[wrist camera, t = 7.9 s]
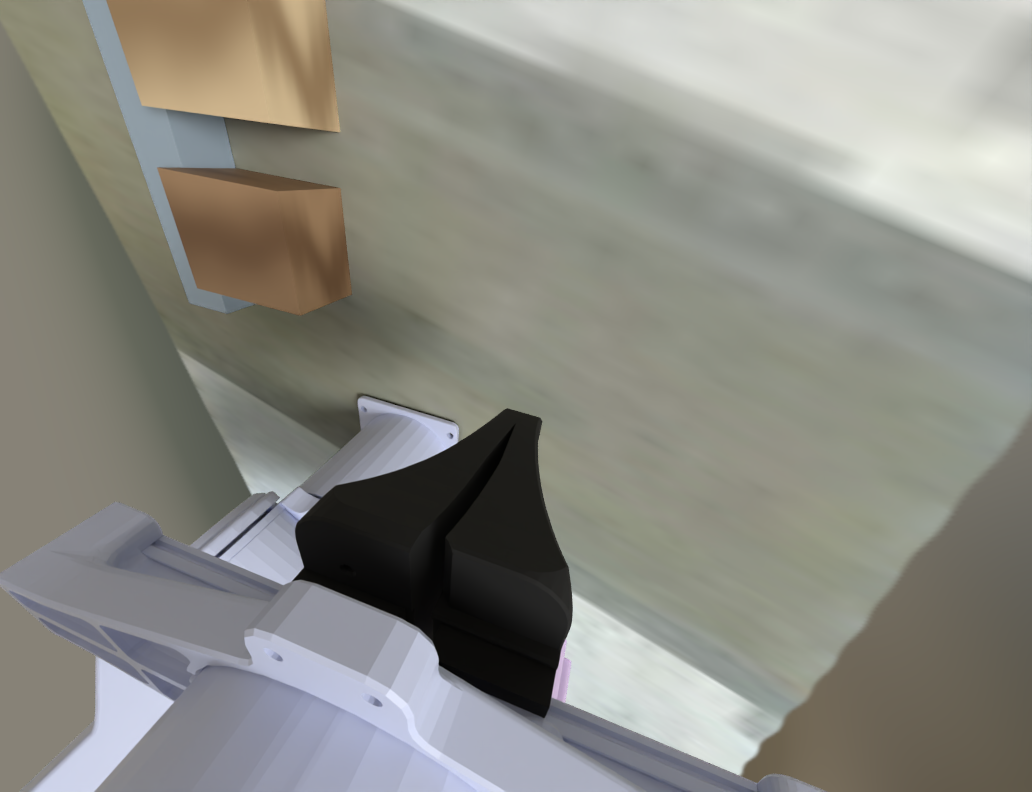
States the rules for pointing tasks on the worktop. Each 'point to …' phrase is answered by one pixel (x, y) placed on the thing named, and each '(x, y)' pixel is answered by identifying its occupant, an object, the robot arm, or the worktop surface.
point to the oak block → (232, 58)
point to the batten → (164, 147)
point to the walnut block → (261, 236)
